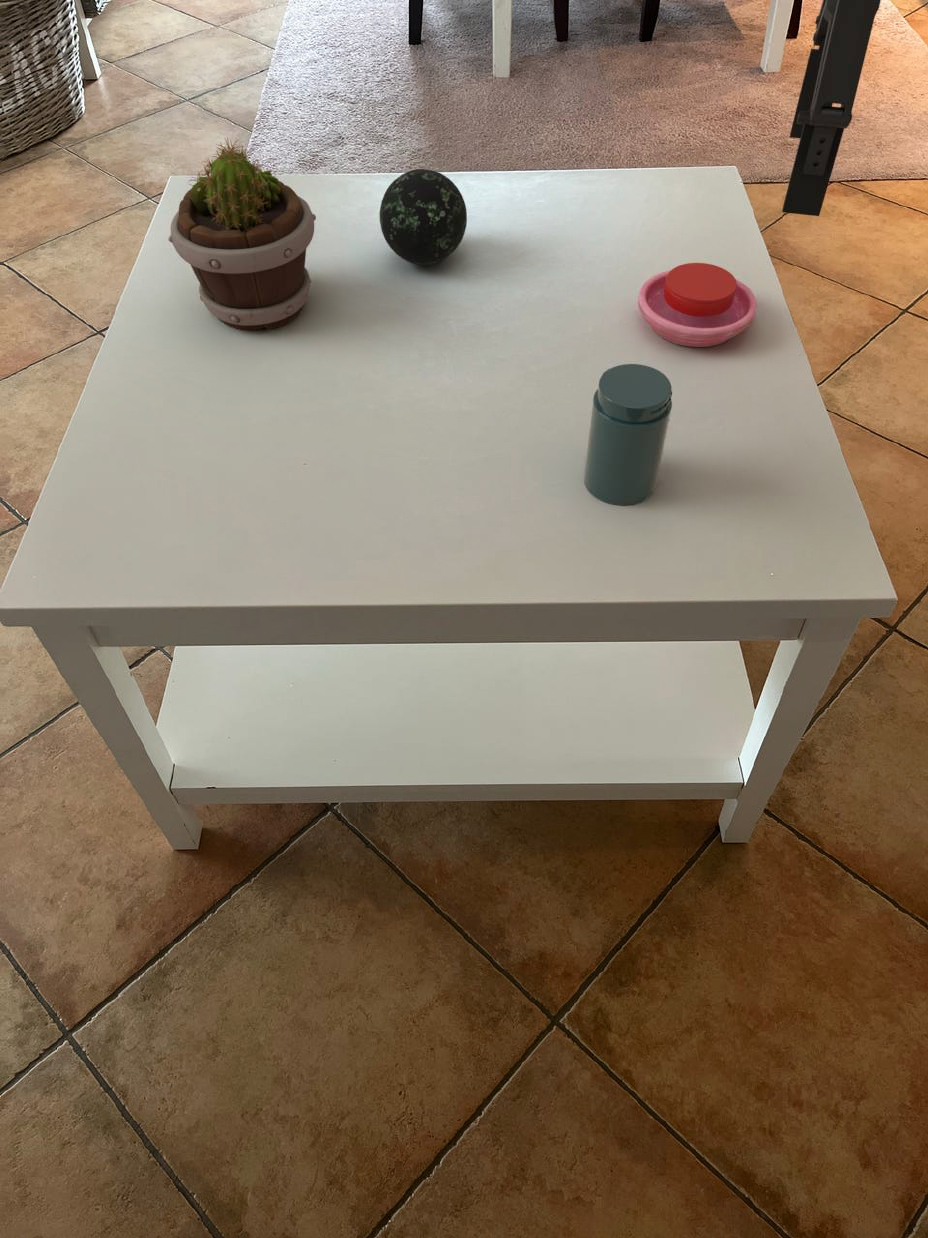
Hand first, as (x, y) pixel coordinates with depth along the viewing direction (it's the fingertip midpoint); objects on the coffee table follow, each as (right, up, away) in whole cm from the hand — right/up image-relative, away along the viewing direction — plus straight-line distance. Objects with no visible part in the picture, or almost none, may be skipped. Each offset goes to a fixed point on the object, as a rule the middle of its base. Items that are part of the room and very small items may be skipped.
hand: (803, 172), depth 73 cm
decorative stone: (-32, +7, +35) cm, 48 cm away
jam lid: (-2, -1, +22) cm, 23 cm away
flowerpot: (-50, -1, +29) cm, 58 cm away
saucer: (-2, -4, +26) cm, 27 cm away
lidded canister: (-13, -23, +11) cm, 29 cm away
